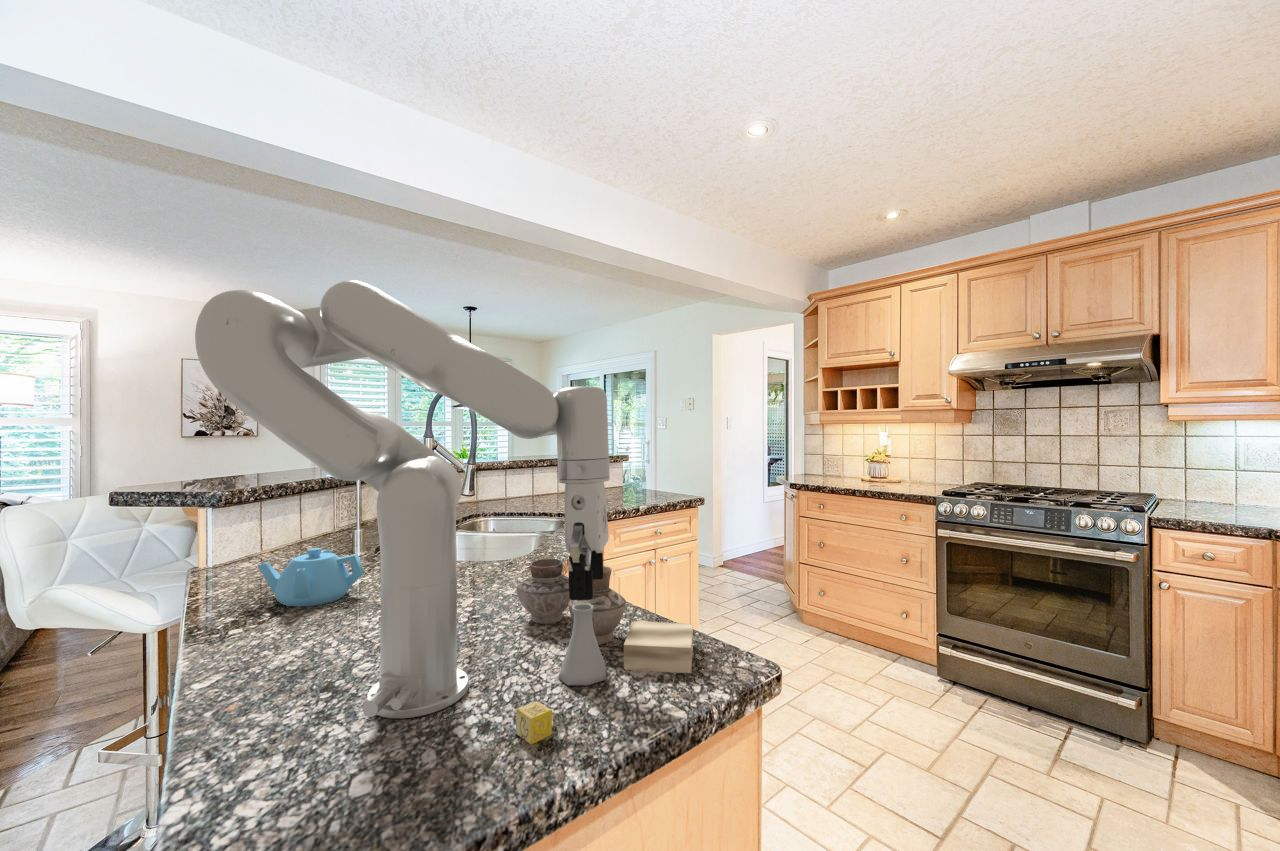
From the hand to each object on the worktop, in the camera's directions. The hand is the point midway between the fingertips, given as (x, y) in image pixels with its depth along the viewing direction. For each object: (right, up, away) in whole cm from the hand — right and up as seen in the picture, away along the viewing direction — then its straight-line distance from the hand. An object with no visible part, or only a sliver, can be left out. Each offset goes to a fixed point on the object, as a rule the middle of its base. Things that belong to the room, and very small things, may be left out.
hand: (587, 588), depth 76 cm
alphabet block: (-5, -13, -15) cm, 20 cm away
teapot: (-63, -14, +36) cm, 74 cm away
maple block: (+11, -13, +6) cm, 18 cm away
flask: (-1, -13, 0) cm, 13 cm away
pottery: (-5, -13, +19) cm, 23 cm away
